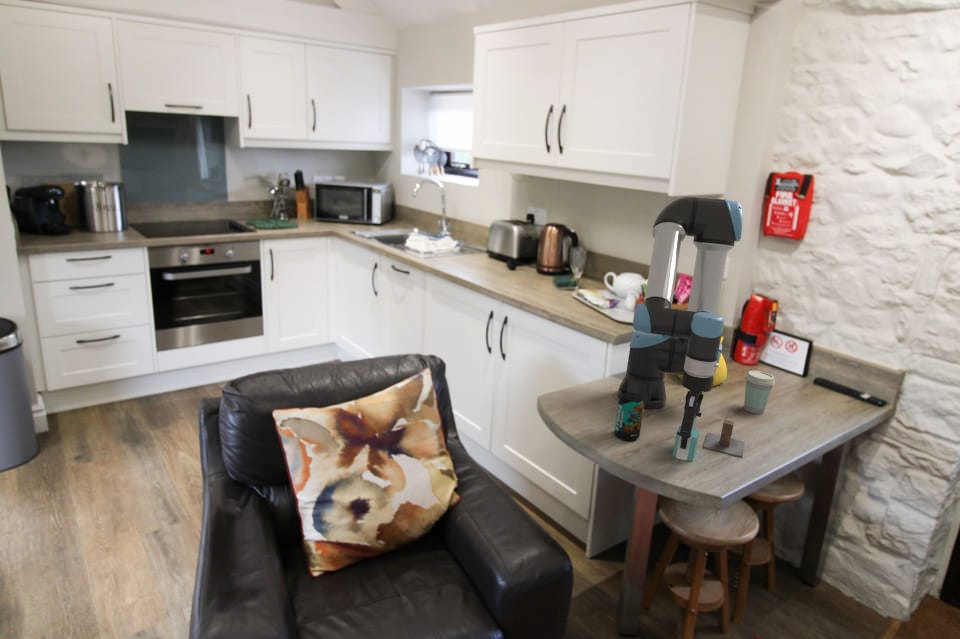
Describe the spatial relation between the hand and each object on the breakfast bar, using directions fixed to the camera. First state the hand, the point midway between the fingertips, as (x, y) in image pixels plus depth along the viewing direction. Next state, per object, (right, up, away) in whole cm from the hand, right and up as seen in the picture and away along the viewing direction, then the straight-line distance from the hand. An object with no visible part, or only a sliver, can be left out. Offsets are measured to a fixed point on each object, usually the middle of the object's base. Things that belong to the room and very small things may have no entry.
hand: (685, 448), depth 166 cm
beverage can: (-14, +1, +9) cm, 16 cm away
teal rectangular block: (0, -2, +1) cm, 2 cm away
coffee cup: (+33, +5, +33) cm, 47 cm away
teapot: (+24, +13, +58) cm, 65 cm away
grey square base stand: (+13, -1, +8) cm, 15 cm away
